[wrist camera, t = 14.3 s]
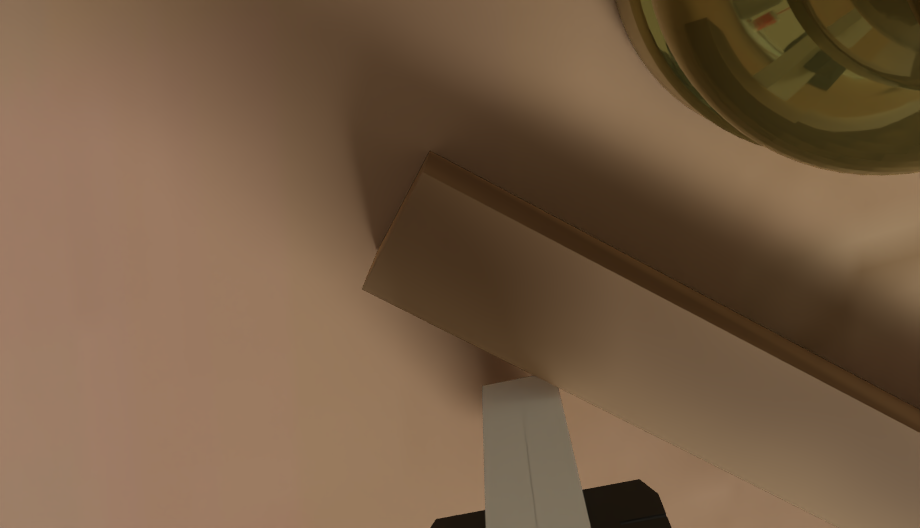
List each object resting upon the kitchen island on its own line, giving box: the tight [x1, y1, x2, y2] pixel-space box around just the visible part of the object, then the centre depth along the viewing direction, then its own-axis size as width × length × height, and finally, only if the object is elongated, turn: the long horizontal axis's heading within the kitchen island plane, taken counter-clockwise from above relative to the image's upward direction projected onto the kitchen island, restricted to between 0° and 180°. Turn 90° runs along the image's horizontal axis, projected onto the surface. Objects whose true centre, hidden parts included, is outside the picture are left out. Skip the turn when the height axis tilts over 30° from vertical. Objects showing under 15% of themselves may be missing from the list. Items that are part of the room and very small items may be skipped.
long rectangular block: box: [362, 151, 920, 528], centre depth 17 cm, size 2×14×2 cm, turn 62°
